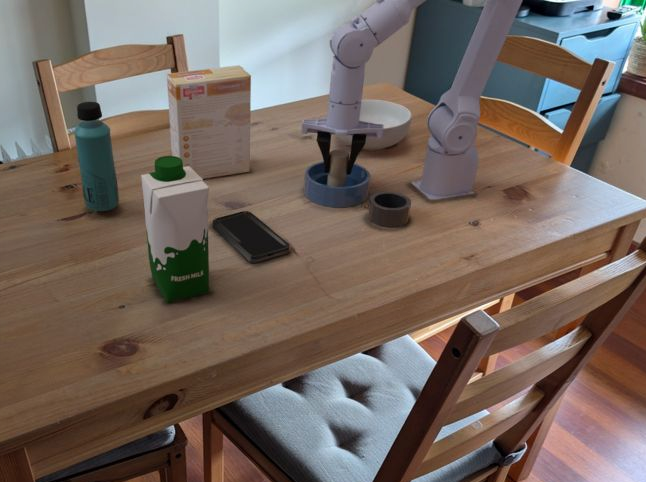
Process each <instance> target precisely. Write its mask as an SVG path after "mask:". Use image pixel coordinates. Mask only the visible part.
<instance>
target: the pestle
mask: <svg viewBox="0 0 646 482" xmlns="http://www.w3.org/2000/svg"><path fill="white" fill-rule="evenodd" d="M349 158H350V152H349V151H348V150H345V149H341V148H340V149H333V150H330V158H329V172H328V180H327V186H333V187H346V181H347V170H348V163H349Z"/></svg>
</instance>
